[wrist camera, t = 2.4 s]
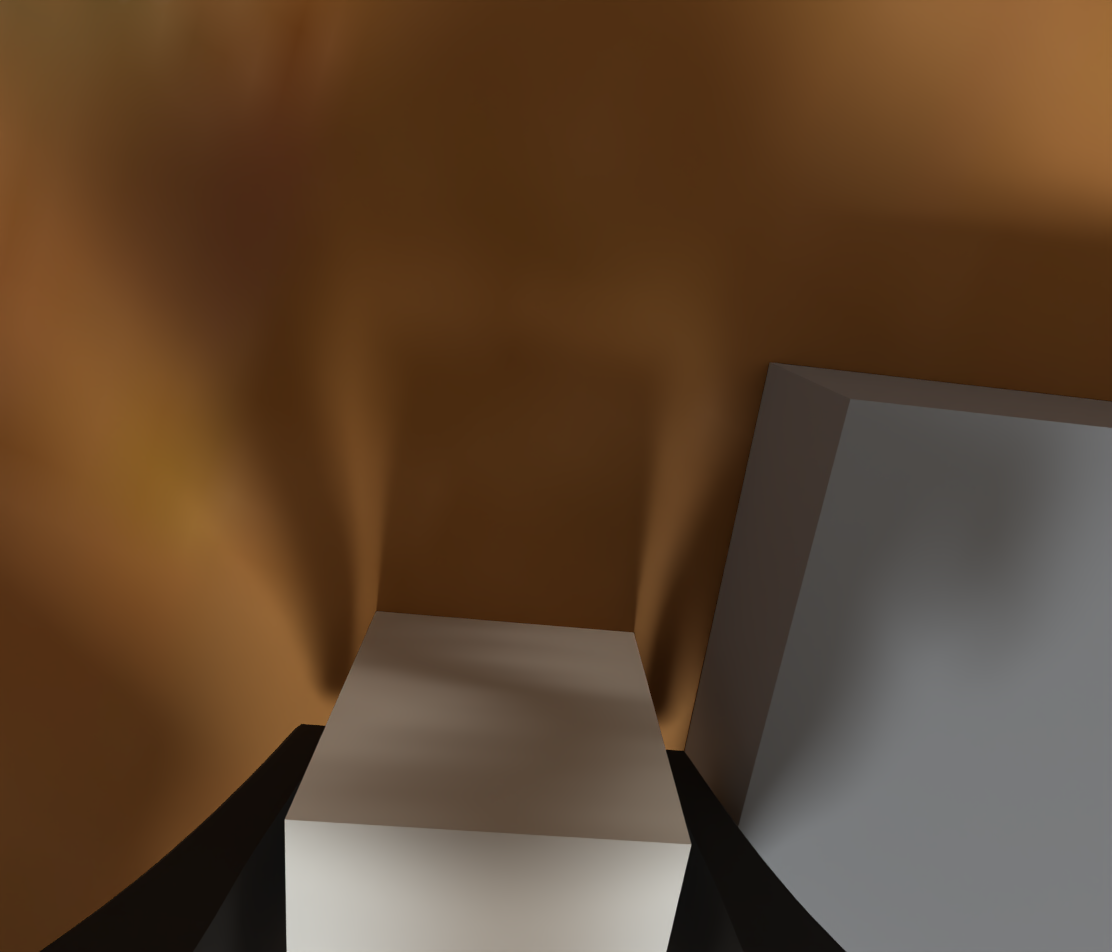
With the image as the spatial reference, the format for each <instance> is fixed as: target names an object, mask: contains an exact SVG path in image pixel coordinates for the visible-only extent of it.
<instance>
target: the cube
mask: <svg viewBox="0 0 1112 952" xmlns="http://www.w3.org/2000/svg"><path fill="white" fill-rule="evenodd" d="M690 849H691V841H690V837H689V834H688V830H687V826H686V823H685V819H684V815H683V812H682V808H681V804H680V801H679V797H678V793H677V790H676V786H675V782H674V779H673V775H672V771H671V768H670V764H669V760H668V757H667V753H666V749H665V746H664V742H663V738H662V735H661V731H660V727H659V724H658V720H657V716H656V713H655V709H654V705H653V702H652V698H651V694H650V691H649V687H648V683H647V680H646V676H645V672H644V668H643V665H642V661H641V657H640V654H639V650H638V646H637V643H636V639H635V635H634V633H633V632H621V631H609V630H597V629H585V628H573V627H561V626H549V625H537V624H525V623H513V622H501V621H489V620H477V619H465V618H453V617H441V616H429V615H417V614H405V613H393V612H381V611H376V612H375V615H374V617H373V619H372V622H371V624H370V626H369V628H368V631H367V633H366V635H365V638H364V640H363V642H362V644H361V647H360V649H359V651H358V653H357V656H356V658H355V660H354V663H353V665H352V667H351V669H350V672H349V674H348V676H347V679H346V681H345V683H344V685H343V688H342V690H341V692H340V695H339V697H338V699H337V701H336V704H335V706H334V708H333V710H332V713H331V715H330V717H329V720H328V722H327V724H326V726H325V729H324V731H323V733H322V736H321V738H320V740H319V742H318V745H317V747H316V749H315V752H314V754H313V756H312V758H311V761H310V763H309V765H308V768H307V770H306V772H305V774H304V777H303V779H302V781H301V783H300V786H299V788H298V790H297V793H296V795H295V797H294V799H293V802H292V804H291V806H290V809H289V811H288V813H287V815H286V818H285V876H286V942H287V952H666V951H667V947H668V943H669V938H670V934H671V930H672V925H673V921H674V917H675V913H676V908H677V904H678V900H679V896H680V891H681V887H682V883H683V878H684V874H685V870H686V866H687V861H688V857H689V853H690Z"/></svg>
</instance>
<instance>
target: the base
mask: <svg viewBox="0 0 1112 952" xmlns="http://www.w3.org/2000/svg"><path fill="white" fill-rule="evenodd" d="M684 752H685V753H686V754H687V755H688V757H689V758H690V760H691V761H692V762H693V764H694V765H695V767H696V768H697V770H698V771H699V773H700V774H701V776H702V777H703V778H704V780H705V781H706V783H707V784H708V786H709V787H710V789H711V790H712V791H713V793H714V794H715V796H716V797H717V798H718V800H719V801H720V803H721V804H722V805H723V807H724V808H725V810H726V811H727V812H728V814H729V815H730V817H731V818H732V819H733V821H734V822H735V823H736V825H737V826H738V827H739V829H740V830H741V831H742V833H743V834H744V835H745V836H746V838H747V839H748V840H749V842H750V843H751V844H752V846H753V847H754V848H755V850H756V851H757V852H758V854H759V855H760V856H761V857H762V858H763V860H764V861H765V862H766V863H767V865H768V866H769V867H770V868H771V870H772V871H773V872H774V873H775V874H776V876H777V877H778V878H779V879H780V880H781V882H782V883H783V884H784V885H785V886H786V888H787V889H788V890H789V891H790V892H791V893H792V895H793V896H794V897H795V898H796V899H797V900H798V901H799V903H800V904H801V905H802V906H803V907H804V908H805V909H806V910H807V911H808V913H809V914H810V915H811V916H812V917H813V918H814V919H815V920H816V921H817V922H818V923H819V924H820V925H821V926H822V927H823V928H824V929H825V930H826V931H827V932H828V933H829V934H830V935H831V937H832V938H833V939H834V940H835V941H836V942H837V943H838V944H839V945H840V946H841V947H842V948H843V949H844V950H845V951H846V952H1112V401H1103V400H1094V399H1086V398H1077V397H1068V396H1060V395H1051V394H1042V393H1033V392H1025V391H1016V390H1007V389H998V388H990V387H981V386H972V385H963V384H955V383H946V382H937V381H929V380H920V379H911V378H902V377H894V376H885V375H876V374H867V373H859V372H850V371H841V370H832V369H824V368H815V367H806V366H798V365H789V364H780V363H771V362H770V363H769V368H768V372H767V377H766V382H765V386H764V391H763V395H762V400H761V404H760V409H759V414H758V418H757V423H756V427H755V432H754V436H753V441H752V445H751V450H750V455H749V459H748V464H747V468H746V473H745V477H744V482H743V487H742V491H741V496H740V500H739V505H738V509H737V514H736V519H735V523H734V528H733V532H732V537H731V541H730V546H729V551H728V555H727V560H726V564H725V569H724V573H723V578H722V582H721V587H720V592H719V596H718V601H717V605H716V610H715V614H714V619H713V624H712V628H711V633H710V637H709V642H708V646H707V651H706V656H705V660H704V665H703V669H702V674H701V678H700V683H699V688H698V692H697V697H696V701H695V706H694V710H693V715H692V719H691V724H690V729H689V733H688V738H687V742H686V747H685V751H684Z"/></svg>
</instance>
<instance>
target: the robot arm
mask: <svg viewBox="0 0 1112 952" xmlns="http://www.w3.org/2000/svg"><path fill="white" fill-rule="evenodd" d="M324 729H325V726H320V725H306V724H301V725H300V726H298V727H297V728H296V729H294V731H293V732H292V733H291V734H290V735H289V736H288V737H287V738H286V739H285V740H284V741H283V743H282V744H281V745H280V746H279V747H278V748H277V749H276V750H275V751H274V752H273V753H272V754H271V755H270V756H269V758H268V759H267V760H266V761H265V762H264V763H263V764H262V765H261V766H260V767H259V768H258V769H257V770H256V771H255V772H254V773H253V774H252V775H251V776H250V777H249V778H248V779H247V780H246V781H245V782H244V783H243V784H242V785H241V786H240V787H239V788H238V789H237V790H236V791H235V792H234V793H233V794H232V795H231V796H230V797H229V798H228V799H227V800H226V801H225V802H224V803H223V804H222V805H221V806H220V807H219V808H218V809H217V810H216V811H215V812H214V813H212V814H211V815H210V816H209V817H208V818H207V819H206V820H205V821H204V822H203V823H202V824H201V825H199V826H198V827H197V828H196V829H195V830H194V831H193V832H192V833H190V834H189V835H188V836H187V837H186V838H185V839H184V840H183V841H182V842H180V843H179V844H178V845H177V846H176V847H175V848H174V849H173V850H171V851H170V852H169V853H168V854H167V855H166V856H165V857H163V858H162V859H161V860H160V861H159V862H158V863H156V864H155V865H154V866H153V867H152V868H150V869H149V870H148V871H147V872H146V873H144V874H143V875H142V876H141V877H139V878H138V879H137V880H136V881H135V882H133V883H132V884H131V885H129V886H128V887H127V888H126V889H124V890H123V891H122V892H121V893H119V894H118V895H117V896H115V897H114V898H113V899H112V900H110V901H109V902H108V903H106V904H105V905H104V906H102V907H101V908H100V909H98V910H97V911H96V912H94V913H93V914H92V915H90V916H89V917H87V918H86V919H85V920H83V921H82V922H81V923H79V924H78V925H76V926H75V927H74V928H72V929H71V930H70V931H68V932H67V933H65V934H64V935H63V936H61V937H60V938H58V939H57V940H56V941H54V942H53V943H51V944H50V945H48V946H47V947H46V948H44V949H43V950H41V951H40V952H287V942H286V876H285V818H286V815H287V813H288V811H289V809H290V806H291V804H292V802H293V799H294V797H295V795H296V793H297V790H298V788H299V786H300V783H301V781H302V779H303V777H304V774H305V772H306V770H307V768H308V765H309V763H310V761H311V758H312V756H313V754H314V752H315V749H316V747H317V745H318V742H319V740H320V738H321V736H322V733H323V731H324ZM666 753H667V757H668V760H669V764H670V768H671V771H672V775H673V779H674V782H675V786H676V790H677V793H678V797H679V801H680V804H681V808H682V812H683V815H684V819H685V823H686V826H687V830H688V834H689V837H690V841H691V849H690V853H689V857H688V861H687V866H686V870H685V874H684V878H683V883H682V887H681V891H680V896H679V900H678V904H677V908H676V913H675V917H674V921H673V925H672V930H671V934H670V938H669V943H668V947H667V951H666V952H846V951H845V950H844V949H843V948H842V947H841V946H840V945H839V944H838V943H837V942H836V941H835V940H834V939H833V938H832V937H831V935H830V934H829V933H828V932H827V931H826V930H825V929H824V928H823V927H822V926H821V925H820V924H819V923H818V922H817V921H816V920H815V919H814V918H813V917H812V916H811V915H810V914H809V913H808V911H807V910H806V909H805V908H804V907H803V906H802V905H801V904H800V903H799V901H798V900H797V899H796V898H795V897H794V896H793V895H792V893H791V892H790V891H789V890H788V889H787V888H786V886H785V885H784V884H783V883H782V882H781V880H780V879H779V878H778V877H777V876H776V874H775V873H774V872H773V871H772V870H771V868H770V867H769V866H768V865H767V863H766V862H765V861H764V860H763V858H762V857H761V856H760V855H759V854H758V852H757V851H756V850H755V848H754V847H753V846H752V844H751V843H750V842H749V840H748V839H747V838H746V836H745V835H744V834H743V833H742V831H741V830H740V829H739V827H738V826H737V825H736V823H735V822H734V821H733V819H732V818H731V817H730V815H729V814H728V812H727V811H726V810H725V808H724V807H723V805H722V804H721V803H720V801H719V800H718V798H717V797H716V796H715V794H714V793H713V791H712V790H711V789H710V787H709V786H708V784H707V783H706V781H705V780H704V778H703V777H702V776H701V774H700V773H699V771H698V770H697V768H696V767H695V765H694V764H693V762H692V761H691V760H690V758H689V757H688V755H687V754H686V753H685V752H684V751H676V750H666Z"/></svg>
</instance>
